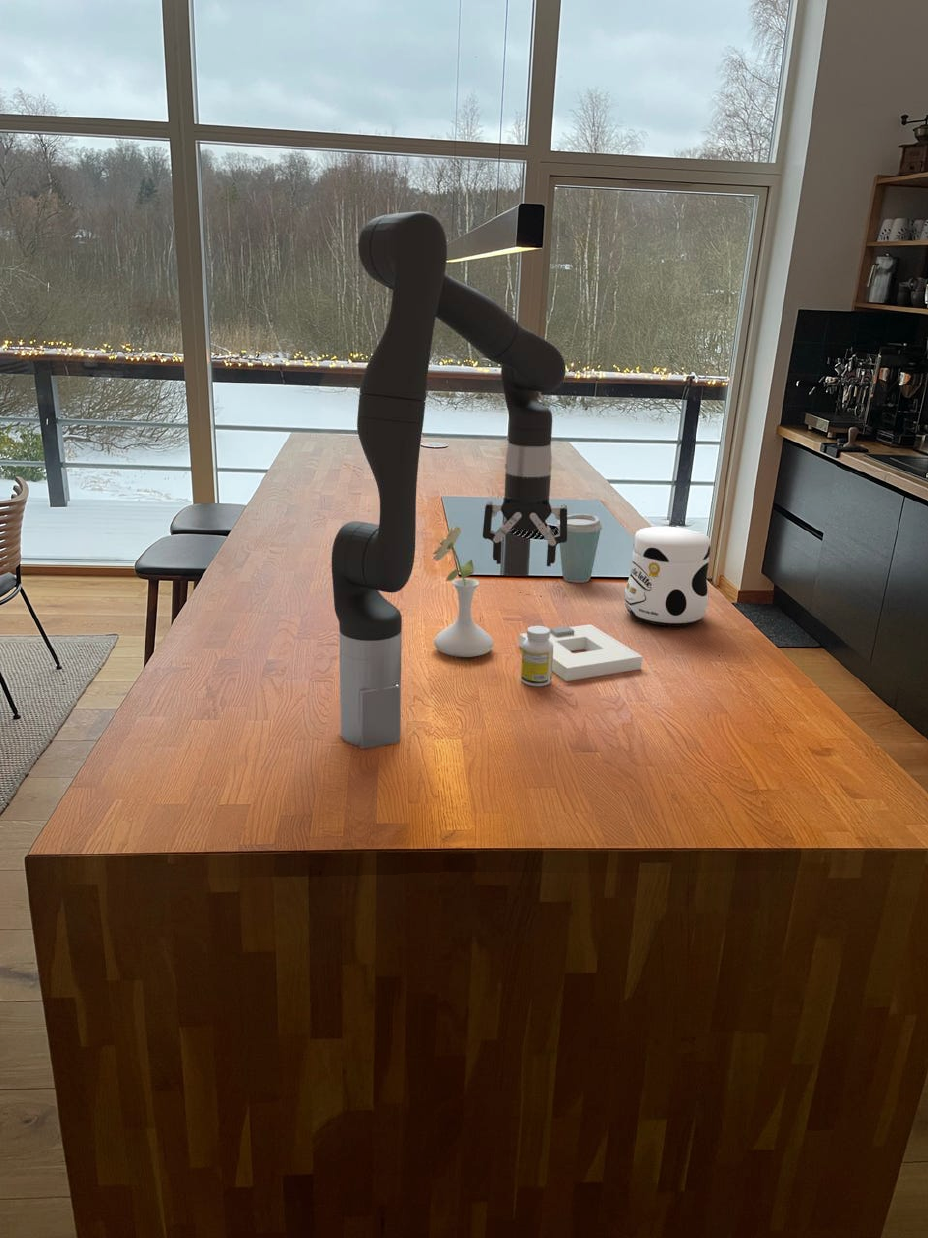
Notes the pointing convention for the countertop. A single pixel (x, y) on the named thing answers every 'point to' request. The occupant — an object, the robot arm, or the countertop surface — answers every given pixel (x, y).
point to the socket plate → (588, 653)
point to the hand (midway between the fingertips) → (523, 563)
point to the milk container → (668, 576)
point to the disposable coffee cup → (579, 547)
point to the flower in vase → (461, 610)
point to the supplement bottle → (537, 657)
